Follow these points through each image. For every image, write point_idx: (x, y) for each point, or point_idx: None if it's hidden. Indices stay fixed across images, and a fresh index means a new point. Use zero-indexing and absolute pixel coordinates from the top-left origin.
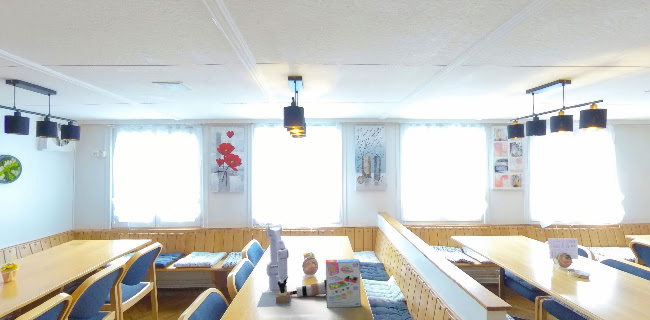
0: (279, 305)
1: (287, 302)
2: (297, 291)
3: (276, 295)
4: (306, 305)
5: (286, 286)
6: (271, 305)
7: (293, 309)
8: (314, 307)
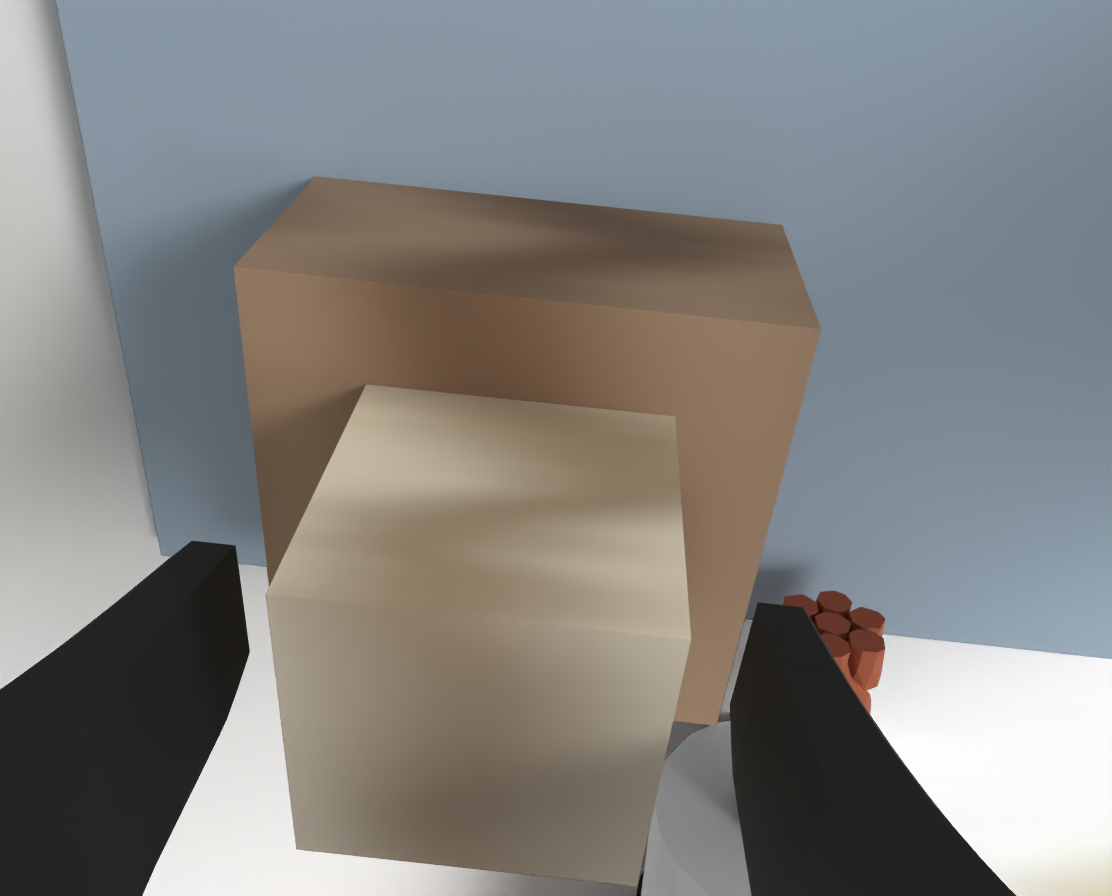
0: (162, 288)
1: None
2: (670, 875)
3: (397, 289)
4: (271, 806)
5: (514, 872)
6: (142, 5)
7: (42, 589)
8: (186, 891)
